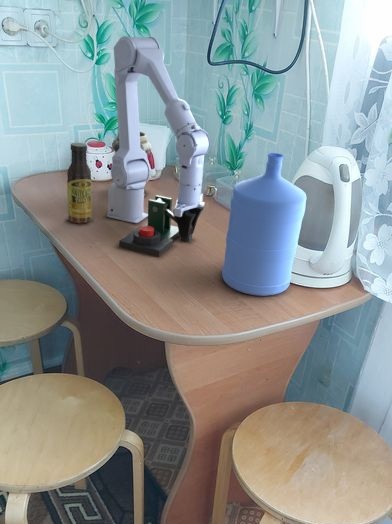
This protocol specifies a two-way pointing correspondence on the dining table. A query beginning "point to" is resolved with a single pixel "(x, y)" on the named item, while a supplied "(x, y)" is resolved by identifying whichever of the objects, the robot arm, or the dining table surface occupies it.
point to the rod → (172, 214)
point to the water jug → (263, 232)
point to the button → (146, 231)
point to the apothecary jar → (143, 145)
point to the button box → (146, 243)
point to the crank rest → (187, 238)
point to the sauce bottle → (79, 185)
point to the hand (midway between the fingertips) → (186, 235)
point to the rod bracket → (161, 217)
